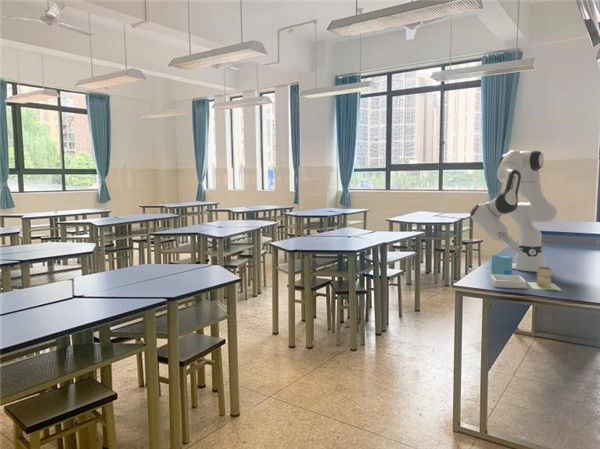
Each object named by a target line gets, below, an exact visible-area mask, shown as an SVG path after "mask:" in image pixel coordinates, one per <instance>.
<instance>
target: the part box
mask: <svg viewBox="0 0 600 449" xmlns="http://www.w3.org/2000/svg"><path fill="white" fill-rule="evenodd" d="M536 283H537V285H538V286H539V287H551V283H552V269H551V268H550V267H549V266H545V267H537V272H536Z"/></svg>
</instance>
